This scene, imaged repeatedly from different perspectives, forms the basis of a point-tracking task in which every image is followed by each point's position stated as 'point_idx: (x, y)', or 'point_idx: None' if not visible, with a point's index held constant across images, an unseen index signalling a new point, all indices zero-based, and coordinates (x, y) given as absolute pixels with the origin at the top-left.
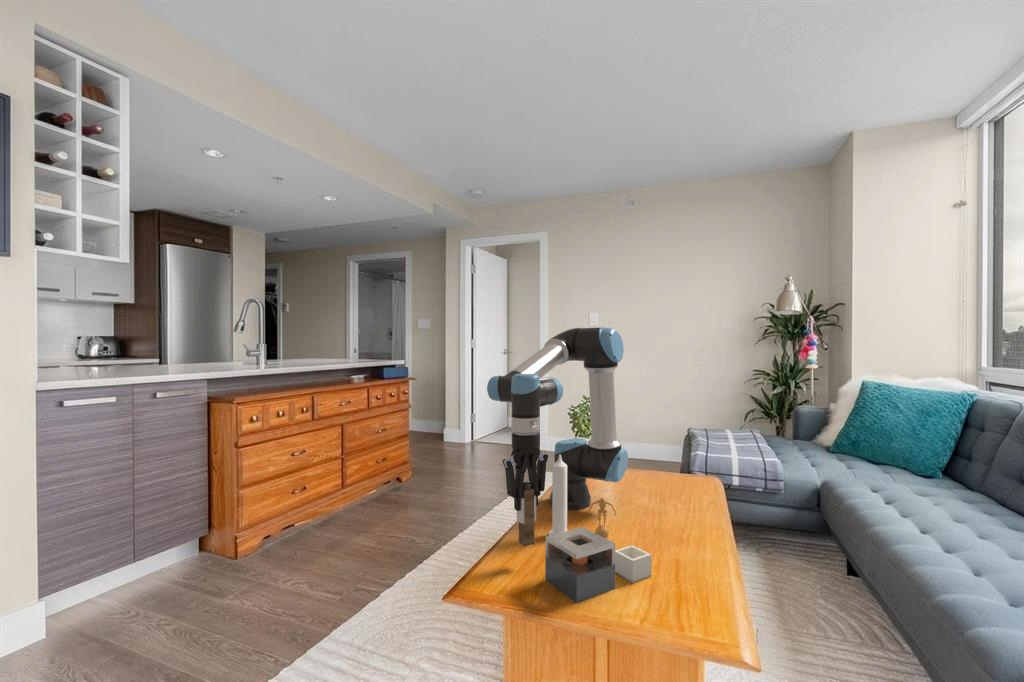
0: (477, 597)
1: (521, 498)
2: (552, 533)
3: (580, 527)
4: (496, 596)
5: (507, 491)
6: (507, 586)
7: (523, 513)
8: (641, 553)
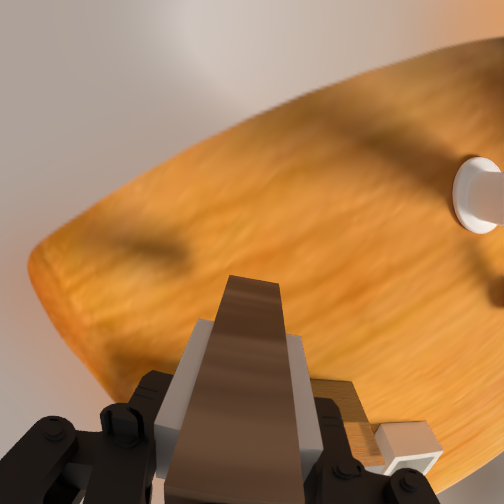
0: (53, 305)
1: (160, 470)
2: (470, 180)
3: (376, 466)
4: (86, 333)
5: (26, 439)
6: (128, 321)
7: None
8: (420, 470)
